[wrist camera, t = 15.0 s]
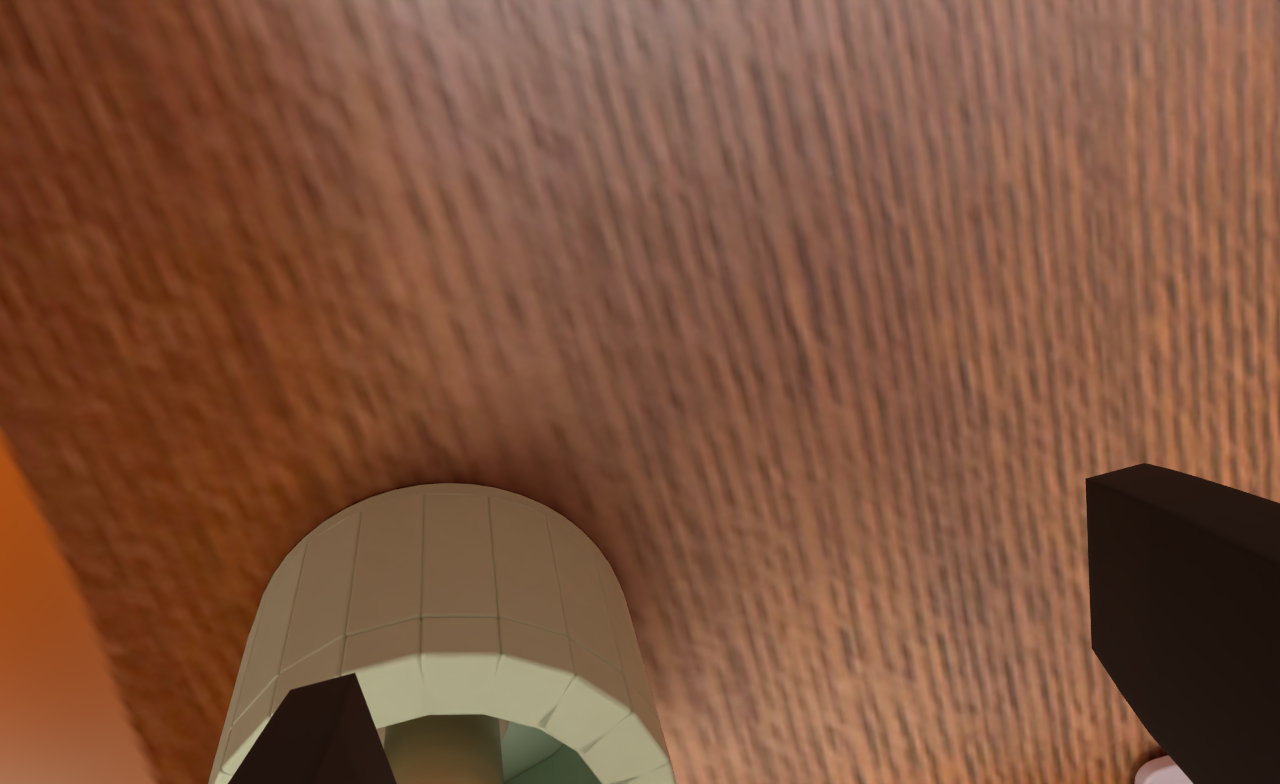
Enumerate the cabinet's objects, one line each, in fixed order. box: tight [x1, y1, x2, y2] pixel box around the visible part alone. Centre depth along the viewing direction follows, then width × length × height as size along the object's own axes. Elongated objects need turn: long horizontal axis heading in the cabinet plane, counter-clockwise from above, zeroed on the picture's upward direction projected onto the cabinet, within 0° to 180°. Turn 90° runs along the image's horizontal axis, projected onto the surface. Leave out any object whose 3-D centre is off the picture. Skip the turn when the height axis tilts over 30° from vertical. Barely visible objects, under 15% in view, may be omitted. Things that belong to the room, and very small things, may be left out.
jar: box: [208, 483, 676, 784], centre depth 20 cm, size 7×7×6 cm
